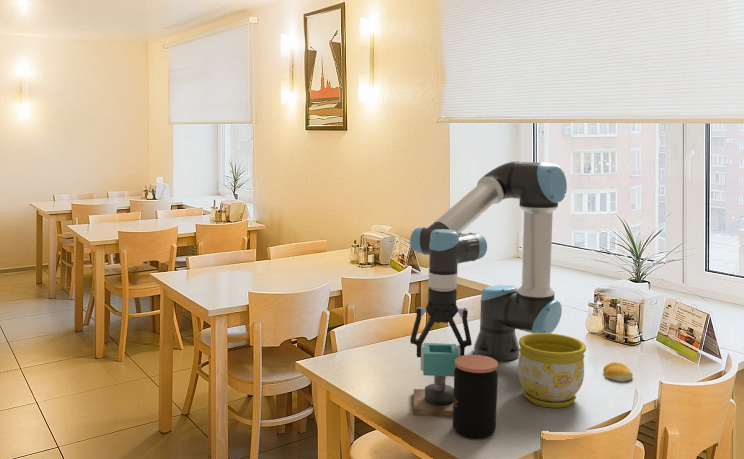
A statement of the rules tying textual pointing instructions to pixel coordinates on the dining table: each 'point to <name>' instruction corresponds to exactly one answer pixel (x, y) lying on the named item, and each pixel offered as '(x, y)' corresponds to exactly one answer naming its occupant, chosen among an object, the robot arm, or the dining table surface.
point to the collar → (439, 359)
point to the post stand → (434, 399)
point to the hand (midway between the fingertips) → (439, 369)
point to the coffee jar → (475, 396)
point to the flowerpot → (551, 368)
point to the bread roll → (617, 372)
